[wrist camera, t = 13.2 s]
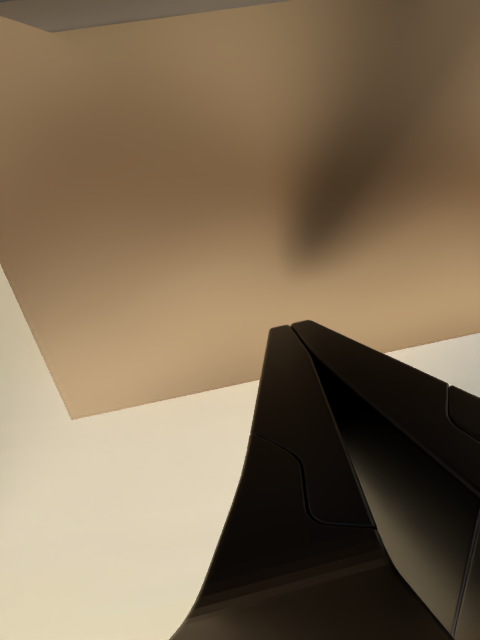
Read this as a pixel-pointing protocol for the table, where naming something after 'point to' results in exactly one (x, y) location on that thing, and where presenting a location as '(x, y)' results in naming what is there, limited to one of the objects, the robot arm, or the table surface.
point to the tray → (107, 11)
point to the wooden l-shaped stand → (238, 188)
